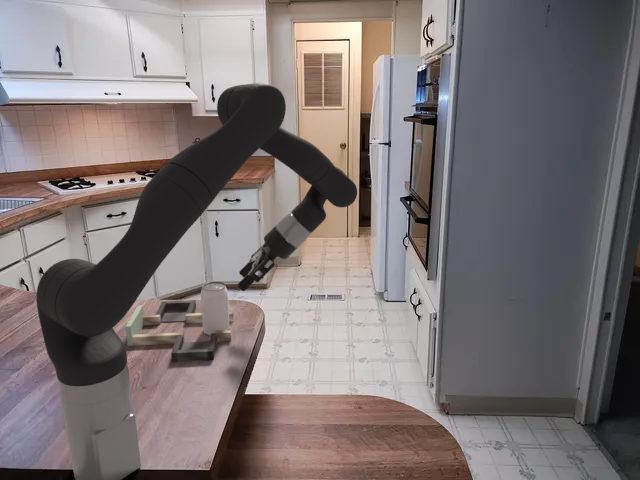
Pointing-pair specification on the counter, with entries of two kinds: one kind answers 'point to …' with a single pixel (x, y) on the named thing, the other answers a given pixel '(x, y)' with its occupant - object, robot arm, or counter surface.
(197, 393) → the counter surface
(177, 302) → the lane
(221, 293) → the can
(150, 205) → the robot arm
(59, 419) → the counter surface
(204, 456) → the counter surface
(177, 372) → the counter surface
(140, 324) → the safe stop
